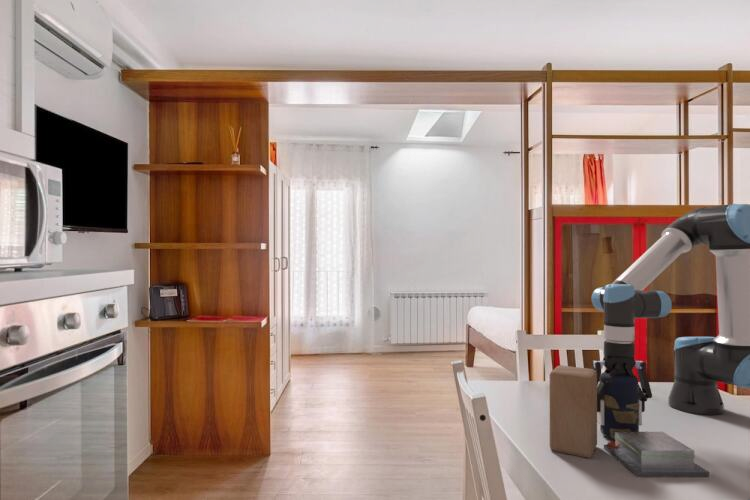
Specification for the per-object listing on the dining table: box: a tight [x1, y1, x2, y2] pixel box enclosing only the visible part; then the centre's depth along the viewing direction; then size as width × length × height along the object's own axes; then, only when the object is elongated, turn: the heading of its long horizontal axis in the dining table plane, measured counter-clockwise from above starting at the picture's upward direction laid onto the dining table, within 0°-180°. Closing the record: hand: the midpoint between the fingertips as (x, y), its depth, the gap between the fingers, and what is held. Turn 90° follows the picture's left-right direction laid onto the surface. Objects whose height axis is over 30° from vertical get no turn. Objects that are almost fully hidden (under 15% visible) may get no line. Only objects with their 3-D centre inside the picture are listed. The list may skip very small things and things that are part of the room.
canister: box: [599, 372, 640, 440], centre depth 134 cm, size 10×10×18 cm
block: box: [549, 365, 598, 459], centre depth 125 cm, size 10×10×20 cm
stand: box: [603, 431, 710, 478], centre depth 118 cm, size 16×17×5 cm
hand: (619, 423), depth 134 cm, fingers closed on canister, 9 cm apart
